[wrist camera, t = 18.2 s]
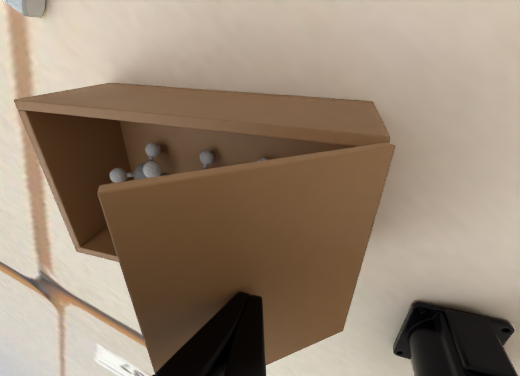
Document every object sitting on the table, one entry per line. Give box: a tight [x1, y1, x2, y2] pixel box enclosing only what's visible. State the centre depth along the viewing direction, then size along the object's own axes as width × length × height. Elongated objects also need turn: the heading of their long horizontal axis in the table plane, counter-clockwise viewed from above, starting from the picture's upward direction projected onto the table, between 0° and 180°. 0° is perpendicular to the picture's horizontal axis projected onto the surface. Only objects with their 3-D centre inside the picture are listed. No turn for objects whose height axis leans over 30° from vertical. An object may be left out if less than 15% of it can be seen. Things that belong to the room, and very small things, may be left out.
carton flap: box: [97, 142, 395, 373], centre depth 10 cm, size 9×10×1 cm
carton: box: [14, 83, 390, 262], centre depth 16 cm, size 18×10×6 cm, turn 88°
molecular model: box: [110, 143, 270, 183], centre depth 17 cm, size 14×4×5 cm, turn 86°
